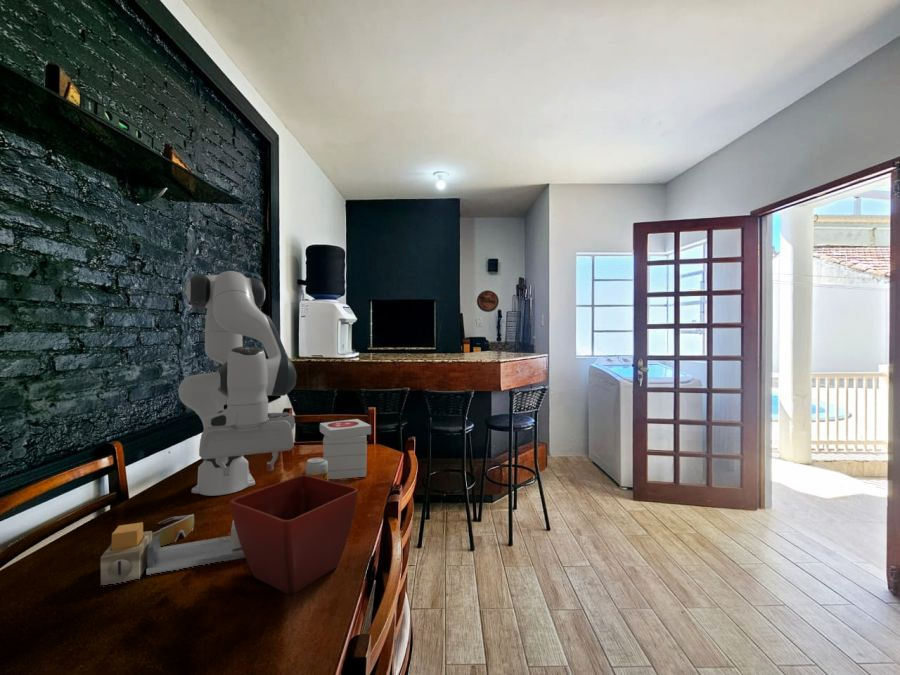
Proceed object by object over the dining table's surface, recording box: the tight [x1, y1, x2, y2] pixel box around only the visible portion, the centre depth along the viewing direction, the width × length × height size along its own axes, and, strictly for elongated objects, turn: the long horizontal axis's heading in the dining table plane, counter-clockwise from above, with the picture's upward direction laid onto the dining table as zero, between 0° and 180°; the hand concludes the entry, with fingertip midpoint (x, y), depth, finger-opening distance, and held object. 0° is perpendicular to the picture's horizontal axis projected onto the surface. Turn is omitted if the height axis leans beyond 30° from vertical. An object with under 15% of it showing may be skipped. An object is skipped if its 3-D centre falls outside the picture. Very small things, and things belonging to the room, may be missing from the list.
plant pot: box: [229, 474, 359, 595], centre depth 90 cm, size 19×19×17 cm
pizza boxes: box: [319, 418, 372, 480], centre depth 162 cm, size 19×30×18 cm, turn 11°
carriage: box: [230, 520, 241, 549], centre depth 100 cm, size 7×7×9 cm
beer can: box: [305, 456, 329, 481], centre depth 122 cm, size 6×6×15 cm
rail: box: [145, 535, 246, 576], centre depth 98 cm, size 8×25×6 cm, turn 113°
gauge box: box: [100, 530, 153, 586], centre depth 91 cm, size 11×6×6 cm, turn 23°
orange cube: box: [111, 521, 144, 551], centre depth 91 cm, size 4×4×4 cm
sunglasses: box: [152, 513, 195, 547], centre depth 107 cm, size 14×15×5 cm
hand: (248, 472), depth 100 cm, fingers open, 8 cm apart
